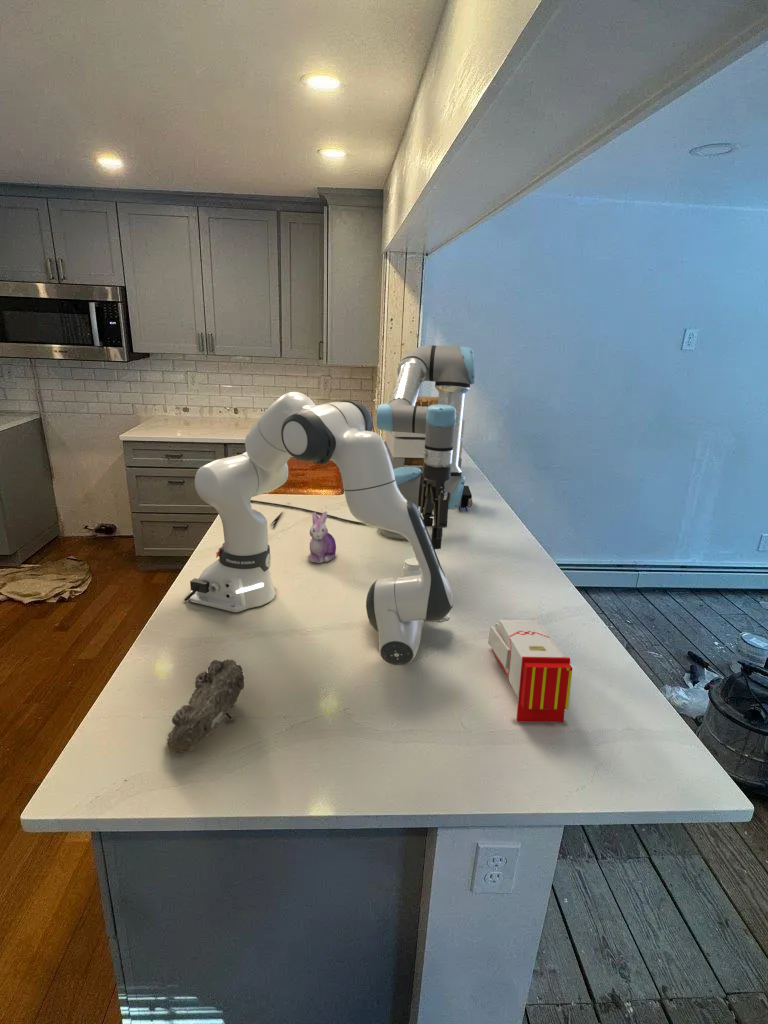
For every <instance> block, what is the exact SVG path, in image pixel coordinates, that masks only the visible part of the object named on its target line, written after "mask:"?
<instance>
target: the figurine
mask: <svg viewBox="0 0 768 1024" xmlns="http://www.w3.org/2000/svg"><path fill="white" fill-rule="evenodd" d="M316 512H317V511H316ZM316 512H314V513H312V517H311V518H312V525H311V527H310V529H309V536H310V537H311V539H310V541H309V552H310V553H309V558H310V559H309V560H310V562H312V563H317V564H321V563H325V562H329V561H332V560H333V559H335V557H336V552H337V544H336V539H335V538H334V536H333V535H332V534H331V533H329V530H328V528H327V525H326V521H327V519H328V516H327V514H328V512H327V511H326V510H325V511H323V512H322V513H323V514H322V515H320V516H319V514H317V513H316Z"/></svg>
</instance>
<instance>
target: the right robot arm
mask: <svg viewBox="0 0 768 1024" xmlns="http://www.w3.org/2000/svg"><path fill="white" fill-rule="evenodd" d="M474 352H475V351H474V350H473V348H471V347H467V346H461V345H457V346H455V345H433V344H426V345H421V346H418V347H416V348H414V349H412V350H410V351H409V352H407V353H406V354H405V355H404V356H403V357H402V358H401V360H400V361H399V364H398V367H397V369H396V371H397V379H396V382H395V384H394V387H393V390H392V393H391V395H390V398H389V400H388V402H386V403H380V404H378V407H377V409H376V419H375V420H376V427H377V429H378V430H380V431H385V432H386V431H390V432H392V431H393V432H408V433H420V434H425V449H424V452H423V456H424V462H425V464H424V465H423V466H422V469H421V468H420V467H417V466H404V467H400V468H396V469H393V470H394V474H395V479H396V484H397V486H398V489H399V491H400V492H401V494H402V495H403V497H404V498H405V499H406V500H407V501H410V502H412V503H414V504H415V505H416V506H417V508H418V509H419V512H420V514H421V516H422V518H423V521H424V523H425V525H426V527H427V526H432V539H431V541H432V544H433V546H434V549H435V550H441V549H442V542H443V541H442V540H443V537H442V530H443V529H444V528H445V529H446V528H447V527H448V521H449V520H448V519H449V510H451V511H452V510H453V511H454V510H457V509H458V507H459V505H460V500H461V496H462V492H463V487H464V486H465V482H466V477H465V476H463V474H462V473H463V471H462V468H461V469H460V468H459V467H458V460H459V449H460V439H462V438H461V428H462V419H463V418H464V417H463V416H464V415H463V414H464V404H465V396H466V394H467V393H468V392H469V391H470V388H471V385H475V382H476V376H475V353H474ZM423 382H435V383H434V388H435V389H436V391H437V392H438V397H439V398H438V404H436V405H430V406H429V407H424V406H415V403H416V400H417V396H418V397H419V392H420V388H421V385H422V383H423ZM388 403H389V404H388ZM250 503H258V504H265V505H271V506H276V507H282V508H288V509H294V510H300V511H305V512H307V513H312V514H313V513H314V512H316V514H317V515H320V516H321V515H322V514H323V512H320V511H316V510H311V509H308V508H303V507H297V506H293V505H288V504H287V505H286V504H281V503H274V502H269V501H262V500H261V501H260V500H254V499H251V500H250ZM328 517H329V518H332V519H335V520H338V521H343V522H348V523H351V524H357V525H364V526H367V525H366V524H364V523H362V522H360V521H356V520H350V519H346V518H342V517H338V516H336V515H331V514H328V513H327V518H328ZM378 533H379V534H380V535H381V536H382V537H385V538H387V539H389V540H395V541H408V540H407V539H406V538H405V537H404V536H402V535H400V534H398V533H396V532H393V531H389V530H385V529H380V528H378Z"/></svg>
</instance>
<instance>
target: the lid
mask: <svg viewBox="0 0 768 1024" xmlns="http://www.w3.org/2000/svg"><path fill="white" fill-rule="evenodd" d="M426 528H427V530H428V533H429V536H430V538H431V539H432V526H427V527H426ZM443 535H444V533H443V529H442V538H443Z"/></svg>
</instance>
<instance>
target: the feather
mask: <svg viewBox="0 0 768 1024" xmlns="http://www.w3.org/2000/svg"><path fill="white" fill-rule="evenodd" d="M282 514H283V512H280V514H279V515H278V516H277V517H275V519H274V520H273V521H272V522H271V524H270V526H272V525H273V529H274V528H275V526H276V524H277V523H278V521H279V520H280V518H281V516H282Z"/></svg>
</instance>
